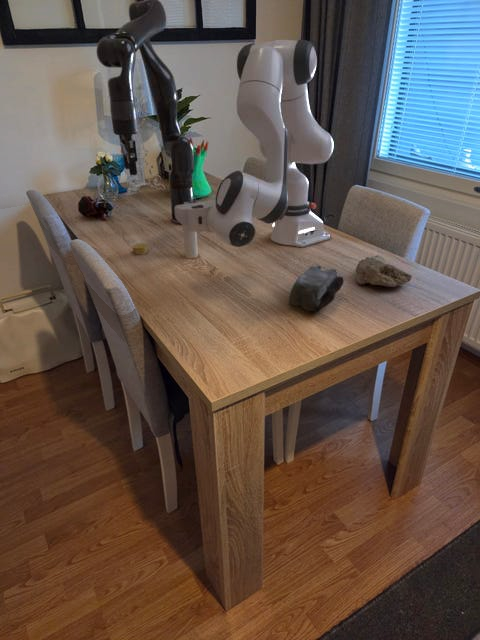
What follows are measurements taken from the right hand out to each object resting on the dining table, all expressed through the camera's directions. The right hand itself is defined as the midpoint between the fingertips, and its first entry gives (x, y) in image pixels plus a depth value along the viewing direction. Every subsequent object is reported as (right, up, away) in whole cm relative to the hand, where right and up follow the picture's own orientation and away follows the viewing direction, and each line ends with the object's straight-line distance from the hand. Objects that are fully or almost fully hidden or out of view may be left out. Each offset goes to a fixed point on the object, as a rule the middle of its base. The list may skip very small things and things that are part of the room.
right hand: (201, 202), depth 133 cm
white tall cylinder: (-5, -13, +21) cm, 25 cm away
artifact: (+55, -23, +6) cm, 59 cm away
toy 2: (-13, +26, +83) cm, 88 cm away
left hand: (-23, +12, +9) cm, 28 cm away
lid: (-24, -10, +23) cm, 34 cm away
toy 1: (-49, +8, +54) cm, 74 cm away
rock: (+34, -30, -6) cm, 45 cm away
